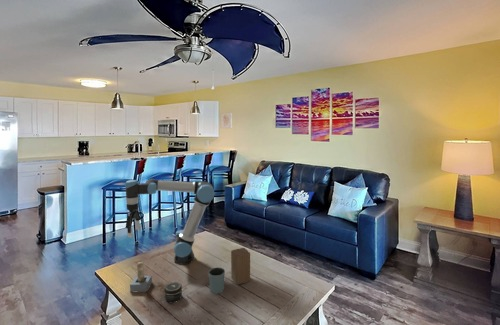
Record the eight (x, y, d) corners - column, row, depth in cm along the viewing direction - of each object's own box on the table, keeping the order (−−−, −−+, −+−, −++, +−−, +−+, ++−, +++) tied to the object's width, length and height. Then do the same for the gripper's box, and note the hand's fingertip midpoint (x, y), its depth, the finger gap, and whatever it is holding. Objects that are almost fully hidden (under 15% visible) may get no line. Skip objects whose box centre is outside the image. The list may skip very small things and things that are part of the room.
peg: (145, 285, 172) (144, 261, 170) (143, 289, 168) (142, 265, 166) (139, 285, 172) (138, 262, 170) (137, 289, 168) (135, 265, 166)
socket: (152, 282, 175) (151, 275, 175) (146, 291, 165) (146, 284, 165) (136, 283, 175) (136, 275, 174) (130, 292, 165) (129, 284, 164)
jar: (168, 292, 165) (168, 280, 164) (184, 293, 164) (184, 281, 163) (161, 303, 155) (161, 290, 154) (178, 304, 154) (178, 291, 153)
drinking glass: (211, 295, 162) (210, 277, 160) (207, 286, 171) (206, 269, 169) (227, 291, 166) (227, 273, 164) (222, 283, 175) (222, 265, 173)
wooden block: (237, 285, 172) (236, 256, 170) (230, 278, 181) (230, 249, 179) (250, 281, 177) (250, 252, 174) (244, 274, 186) (244, 246, 183)
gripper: (133, 198, 194) (135, 226, 196) (118, 208, 169) (120, 240, 171) (144, 198, 194) (145, 226, 196) (130, 208, 169) (132, 240, 172)
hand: (134, 233), depth 184 cm, fingers open, 13 cm apart
